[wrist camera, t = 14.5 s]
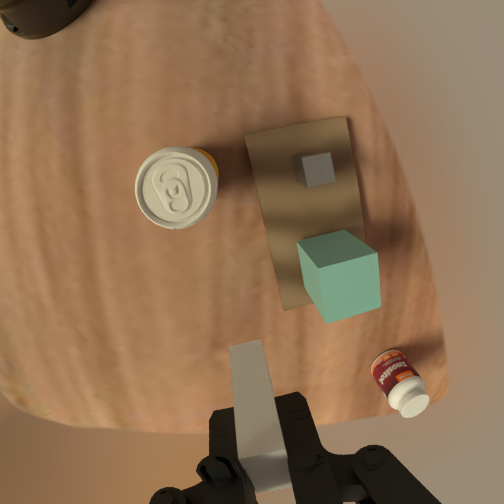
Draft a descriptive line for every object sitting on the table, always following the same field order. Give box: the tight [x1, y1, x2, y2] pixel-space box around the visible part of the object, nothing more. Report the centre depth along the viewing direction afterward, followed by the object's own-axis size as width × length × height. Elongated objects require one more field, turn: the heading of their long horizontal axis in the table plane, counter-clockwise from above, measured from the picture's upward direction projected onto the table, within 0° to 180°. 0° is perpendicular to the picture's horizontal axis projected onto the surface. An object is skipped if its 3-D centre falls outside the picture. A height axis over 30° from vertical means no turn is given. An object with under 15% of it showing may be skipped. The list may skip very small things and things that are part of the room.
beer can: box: [135, 146, 219, 229], centre depth 28 cm, size 6×6×15 cm
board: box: [244, 117, 366, 311], centre depth 38 cm, size 22×12×1 cm, turn 13°
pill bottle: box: [371, 350, 429, 418], centre depth 42 cm, size 6×6×11 cm
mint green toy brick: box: [296, 229, 381, 324], centre depth 34 cm, size 6×6×9 cm
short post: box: [291, 152, 336, 187], centre depth 33 cm, size 3×3×5 cm
